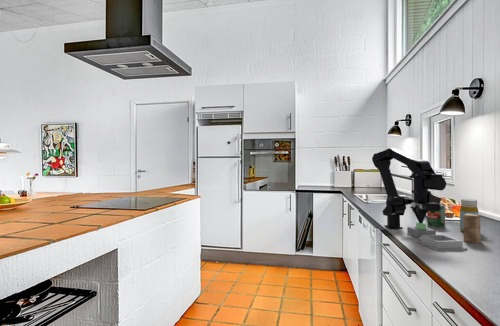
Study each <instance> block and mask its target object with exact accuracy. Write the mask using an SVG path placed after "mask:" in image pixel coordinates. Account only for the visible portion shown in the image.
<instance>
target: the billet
mask: <svg viewBox="0 0 500 326" xmlns="http://www.w3.org/2000/svg"><path fill="white" fill-rule="evenodd" d="M463 226H464V232H463V242H466V243H471V244H479V243H481V240H482V238H481V214H479V215H476V214H464V215H463Z"/></svg>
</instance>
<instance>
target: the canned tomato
mask: <svg viewBox="0 0 500 326" xmlns="http://www.w3.org/2000/svg"><path fill="white" fill-rule="evenodd" d="M440 205H441V210H429V211H428V212H427V213H426V218H427V219H426V222H427V223H426V227H427V226H428V227H429V228H435V229H436V228H438V229H442V228H443V229H444V228H446V205H445V204H441V203H440Z"/></svg>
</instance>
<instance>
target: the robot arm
mask: <svg viewBox="0 0 500 326" xmlns="http://www.w3.org/2000/svg"><path fill="white" fill-rule="evenodd" d="M392 160H396V161H398V162H400V163H402V164H403V165H405V166H406V167H407V169H408V170H409V171H411V173H412V174H410V176H409V179H412V181H413V190H411V193H412V194H413V197H411V198H410V197H408V198H407V197H406V198H405V197H404V196H400V195H399V193H398V191H397V188H396V184H395V181H394V179H393V175H392V172H391V168H390V166H391V163H392V162H391V161H392ZM371 161H372V164H373V166H374V167H375V168H376V169H377V170H378V171H379V174H380V176H381V180H382V183H383V186H384V190H385V193H386V197H387V198H386V201H385V204H386V206H385V207H384V208H383V210H382V215H383V216H385V217H386V224H385V225H384V227H386V228H387V229H390V230H392V229H393V230H394V229H395V230H396V229H404V227H403V226H401V216H404V215H405V211H406V209H407V206H408V205H411V206H410V207H409V208H410V209H411V210H412V211H413V213H414V216H415V217H416V219H417V222H419V223H424V221H425V218H426V216H427V212H428V211H429V210H441V205H440V204H441V202H442V197H438V196H436V195H434V194H432V191H443V190H445V189H446V186H447V181H446V179H445V178H444V177H443V173H436V172H435V170H434V169H433V167H432V166H431V163H430V161H428V160H425V159H422V158H421V159H420V158H415V157H413V156H411V155H409V154H407V153H405V152H403V151H401V150H399V149H398V148H395V147H388V148H387V149H385V150H382V151H379V152H376V153H374V154H373V155H372V157H371ZM431 190H432V191H431Z"/></svg>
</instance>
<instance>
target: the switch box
mask: <svg viewBox="0 0 500 326" xmlns="http://www.w3.org/2000/svg"><path fill="white" fill-rule="evenodd" d="M406 229H407V230H406V231H407V232H406V233H407V234H409V235H411V236H413V237H416V238H417V239H419V238H420V239H421V235H437V234H436V232H437V231H436V230H435V229H433V228H431V227H427V226H426V230H419V229H416V226H407V228H406Z"/></svg>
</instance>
